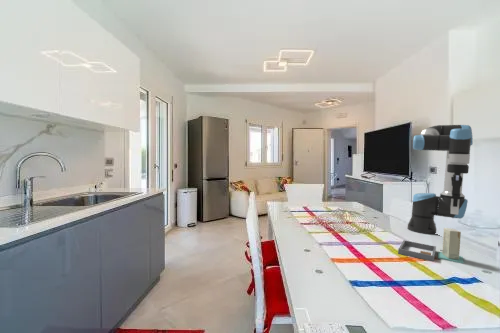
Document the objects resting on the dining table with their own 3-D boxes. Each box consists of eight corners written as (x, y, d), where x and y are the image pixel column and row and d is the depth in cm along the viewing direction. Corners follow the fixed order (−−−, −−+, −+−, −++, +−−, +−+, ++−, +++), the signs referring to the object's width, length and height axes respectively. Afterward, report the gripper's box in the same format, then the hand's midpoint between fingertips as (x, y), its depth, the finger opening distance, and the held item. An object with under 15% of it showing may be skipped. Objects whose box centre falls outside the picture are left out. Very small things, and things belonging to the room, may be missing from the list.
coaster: (438, 252, 129) (438, 251, 129) (462, 257, 124) (462, 256, 124) (437, 258, 122) (437, 256, 122) (463, 263, 117) (463, 262, 117)
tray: (403, 244, 140) (403, 240, 140) (435, 251, 132) (436, 246, 132) (398, 253, 126) (398, 248, 126) (433, 261, 118) (434, 256, 118)
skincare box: (459, 259, 120) (461, 232, 119) (448, 258, 121) (450, 230, 120) (452, 254, 126) (454, 228, 125) (441, 253, 127) (443, 227, 126)
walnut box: (420, 255, 126) (420, 250, 126) (430, 257, 124) (430, 252, 124) (420, 258, 122) (420, 253, 122) (430, 260, 120) (431, 255, 120)
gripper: (447, 163, 134) (444, 206, 135) (447, 163, 113) (443, 214, 114) (467, 164, 129) (463, 209, 130) (470, 164, 109) (466, 217, 110)
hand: (454, 211), depth 122 cm, fingers open, 13 cm apart
